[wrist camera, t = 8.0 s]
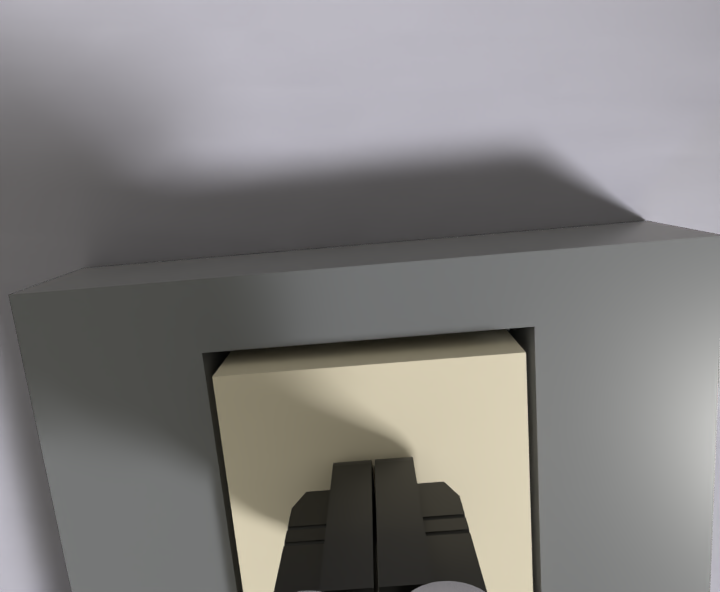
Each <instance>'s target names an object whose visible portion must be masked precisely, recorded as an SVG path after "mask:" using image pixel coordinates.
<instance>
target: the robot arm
mask: <svg viewBox="0 0 720 592" xmlns="http://www.w3.org/2000/svg"><path fill="white" fill-rule="evenodd" d="M375 486H376V502H375V491H374V479H373V468H372V460H363V461H350V462H337V463H333V468H332V477H331V487H330V490H323V491H309V492H306V493H305V494H304V495H303V496H302V497H301V498H300V499H299V501H298V502H297V503H296V504H295V505H294V506H293V507H292V509H291V514H290V518H289V523H288V530H287V532H286V537H285V542H284V546H283V551H282V555H281V560H280V565H279V569H278V574H277V579H276V583H275V588H274V592H487V590H486V586H485V583H484V579H483V576H482V572H481V569H480V565H479V562H478V558H477V555H476V551H475V548H474V544H473V541H472V537H471V534H470V532H469V527H468V523H467V520H466V518H465V513H464V509H463V506H462V502H461V499H460V496H459V495H458V494H457V493H456V492H455V491H454V490H453V489H452V488H450V487H449V486H448V485H447V484H446V483H445V482H444V481H443V482H430V483H417V479H416V473H415V467H414V461H413V457H402V458H388V459H375Z"/></svg>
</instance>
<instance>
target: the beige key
mask: <svg viewBox="0 0 720 592" xmlns="http://www.w3.org/2000/svg"><path fill="white" fill-rule="evenodd" d="M212 379H213V386H214V393H215V399H216V406H217V413H218V420H219V427H220V434H221V441H222V448H223V455H224V462H225V469H226V476H227V483H228V490H229V497H230V503H231V510H232V517H233V524H234V531H235V538H236V545H237V552H238V559H239V566H240V573H241V580H242V587H243V592H274V588H275V583H276V579H277V574H278V569H279V565H280V560H281V555H282V551H283V546H284V542H285V537H286V532H287V530H288V523H289V518H290V514H291V509H292V507H293V506H294V505H295V504H296V503H297V502H298V501H299V499H300V498H301V497H302V496H303V495H304V494H305V493H306V492H309V491H323V490H330V487H331V477H332V468H333V463H337V462H350V461H363V460H372V468H373V479H374V491H375V502H376V486H375V459H388V458H402V457H413V461H414V467H415V473H416V479H417V483H430V482H443V481H444V482H445V483H446V484H447V485H448V486H449V487H450V488H452V489H453V490H454V491H455V492H456V493H457V494H458V495H459V496H460V499H461V502H462V506H463V509H464V513H465V518H466V520H467V523H468V527H469V532H470V534H471V537H472V541H473V544H474V548H475V551H476V555H477V558H478V562H479V565H480V569H481V572H482V576H483V579H484V583H485V586H486V590H487V592H533V576H532V542H531V507H530V473H529V439H528V405H527V371H526V352H525V351H524V350H523V348H522V347H521V346H520V345H519V344H518V343H517V341H516V340H515V339H514V338H513V337H512V336H511V334H510V333H509V332H508V331H507V330H506V329H497V330H485V331H472V332H460V333H447V334H434V335H422V336H409V337H397V338H384V339H371V340H359V341H346V342H334V343H321V344H308V345H296V346H283V347H271V348H258V349H245V350H233V351H231V352H230V353H229V355H228V356H227V358H226V359H225V360H224V362H223V363H222V364H221V366H220V367H219V368H218V370H217V371H216V373H215V374H214V375H213V377H212Z"/></svg>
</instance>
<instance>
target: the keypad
mask: <svg viewBox="0 0 720 592" xmlns="http://www.w3.org/2000/svg"><path fill="white" fill-rule="evenodd" d="M9 299H10V304H11V309H12V313H13V318H14V323H15V327H16V332H17V337H18V341H19V346H20V351H21V356H22V360H23V365H24V370H25V374H26V379H27V384H28V389H29V393H30V398H31V403H32V407H33V412H34V417H35V422H36V426H37V431H38V436H39V440H40V445H41V450H42V455H43V459H44V464H45V469H46V473H47V478H48V483H49V488H50V492H51V497H52V502H53V506H54V511H55V516H56V521H57V525H58V530H59V535H60V539H61V544H62V549H63V554H64V558H65V563H66V568H67V572H68V577H69V582H70V587H71V591H72V592H243V587H242V580H241V573H240V566H239V559H238V552H237V545H236V538H235V531H234V524H233V517H232V510H231V503H230V497H229V490H228V483H227V476H226V469H225V462H224V455H223V448H222V441H221V434H220V427H219V420H218V413H217V406H216V399H215V393H214V386H213V379H212V377H213V375H214V374H215V373H216V371H217V370H218V368H219V367H220V366H221V364H222V363H223V362H224V360H225V359H226V358H227V356H228V355H229V353H230V352H231V351H233V350H245V349H258V348H271V347H283V346H296V345H308V344H321V343H334V342H346V341H359V340H371V339H384V338H397V337H409V336H422V335H434V334H447V333H460V332H472V331H485V330H497V329H506V330H507V331H508V332H509V333H510V334H511V336H512V337H513V338H514V339H515V340H516V341H517V343H518V344H519V345H520V346H521V347H522V348H523V350H524V351H525V352H526V371H527V405H528V439H529V473H530V507H531V542H532V576H533V592H710V578H711V554H712V530H713V505H714V481H715V456H716V432H717V407H718V383H719V358H720V234H714V233H709V232H704V231H699V230H693V229H688V228H683V227H678V226H672V225H667V224H662V223H657V222H652V221H638V222H626V223H614V224H603V225H591V226H579V227H567V228H555V229H543V230H531V231H519V232H507V233H495V234H483V235H471V236H460V237H448V238H436V239H424V240H412V241H400V242H388V243H376V244H364V245H352V246H340V247H329V248H317V249H305V250H293V251H281V252H269V253H257V254H245V255H233V256H221V257H209V258H197V259H186V260H174V261H162V262H150V263H138V264H126V265H114V266H102V267H90V268H82V269H80V270H77V271H74V272H71V273H68V274H66V275H63V276H60V277H57V278H54V279H52V280H49V281H46V282H43V283H40V284H38V285H35V286H32V287H29V288H26V289H24V290H21V291H18V292H15V293H12V294H10V295H9Z"/></svg>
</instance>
